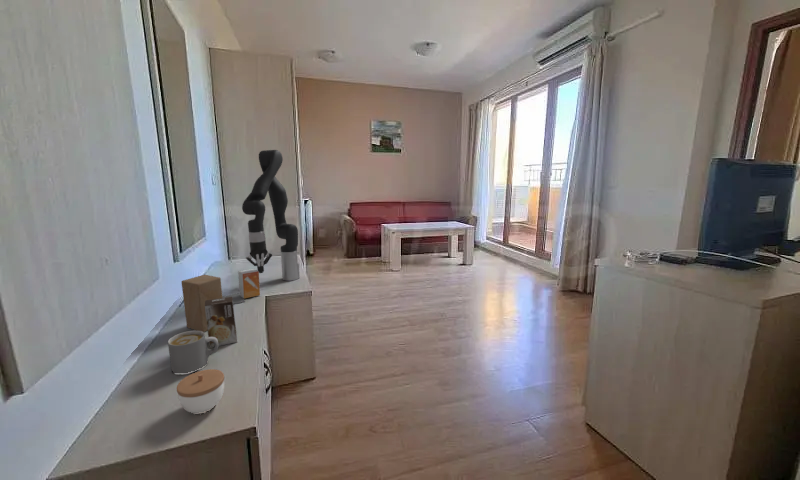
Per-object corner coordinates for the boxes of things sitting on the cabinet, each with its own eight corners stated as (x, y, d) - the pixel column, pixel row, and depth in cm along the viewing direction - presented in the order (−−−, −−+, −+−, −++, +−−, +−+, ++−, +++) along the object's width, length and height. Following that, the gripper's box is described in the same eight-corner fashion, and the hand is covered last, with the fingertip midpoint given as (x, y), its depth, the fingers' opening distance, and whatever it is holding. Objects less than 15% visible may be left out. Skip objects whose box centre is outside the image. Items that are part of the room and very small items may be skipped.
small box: (244, 299, 163) (242, 273, 161) (239, 295, 168) (237, 271, 166) (260, 295, 169) (259, 270, 167) (255, 292, 173) (254, 268, 171)
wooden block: (225, 323, 138) (221, 277, 134) (202, 333, 129) (197, 284, 125) (209, 318, 142) (204, 274, 138) (186, 328, 133) (180, 280, 129)
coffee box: (236, 335, 127) (233, 295, 124) (237, 342, 122) (233, 301, 119) (209, 340, 123) (205, 299, 120) (208, 348, 117) (204, 305, 114)
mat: (238, 293, 171) (238, 293, 171) (245, 302, 161) (245, 301, 160) (198, 301, 161) (198, 300, 160) (202, 310, 150) (202, 309, 150)
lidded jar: (233, 393, 93) (230, 363, 91) (213, 421, 83) (210, 387, 81) (195, 394, 93) (191, 363, 91) (170, 421, 82) (165, 388, 81)
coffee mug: (168, 378, 100) (164, 348, 98) (175, 361, 109) (171, 333, 107) (218, 368, 105) (215, 339, 103) (220, 353, 114) (218, 326, 112)
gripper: (268, 237, 173) (271, 268, 177) (241, 240, 165) (245, 273, 169) (273, 239, 167) (276, 272, 171) (245, 243, 159) (249, 277, 163)
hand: (260, 272), depth 170 cm, fingers closed
